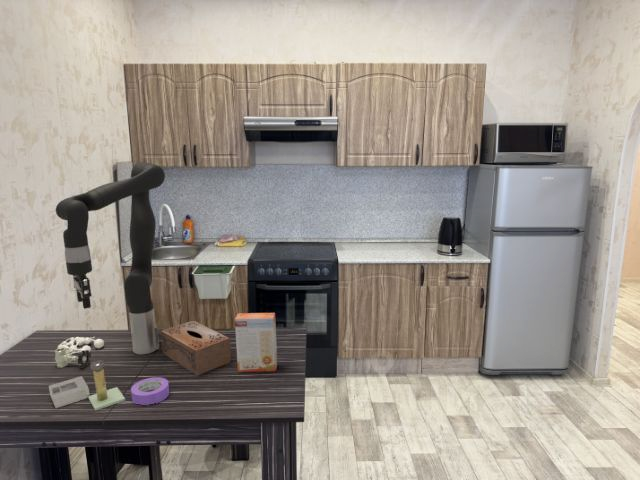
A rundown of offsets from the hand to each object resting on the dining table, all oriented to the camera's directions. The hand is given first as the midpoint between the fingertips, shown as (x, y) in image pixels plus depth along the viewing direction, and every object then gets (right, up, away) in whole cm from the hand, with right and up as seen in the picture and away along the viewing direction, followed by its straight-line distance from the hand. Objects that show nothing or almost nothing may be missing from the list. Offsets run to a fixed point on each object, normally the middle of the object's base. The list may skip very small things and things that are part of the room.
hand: (84, 304), depth 155 cm
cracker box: (+58, -26, +12) cm, 65 cm away
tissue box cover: (+33, -24, +21) cm, 46 cm away
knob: (+10, -29, -8) cm, 32 cm away
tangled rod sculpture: (-18, -23, +30) cm, 42 cm away
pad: (+11, -30, -7) cm, 33 cm away
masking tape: (+25, -30, -5) cm, 39 cm away
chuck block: (-2, -30, -5) cm, 30 cm away
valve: (-13, -26, +16) cm, 33 cm away
